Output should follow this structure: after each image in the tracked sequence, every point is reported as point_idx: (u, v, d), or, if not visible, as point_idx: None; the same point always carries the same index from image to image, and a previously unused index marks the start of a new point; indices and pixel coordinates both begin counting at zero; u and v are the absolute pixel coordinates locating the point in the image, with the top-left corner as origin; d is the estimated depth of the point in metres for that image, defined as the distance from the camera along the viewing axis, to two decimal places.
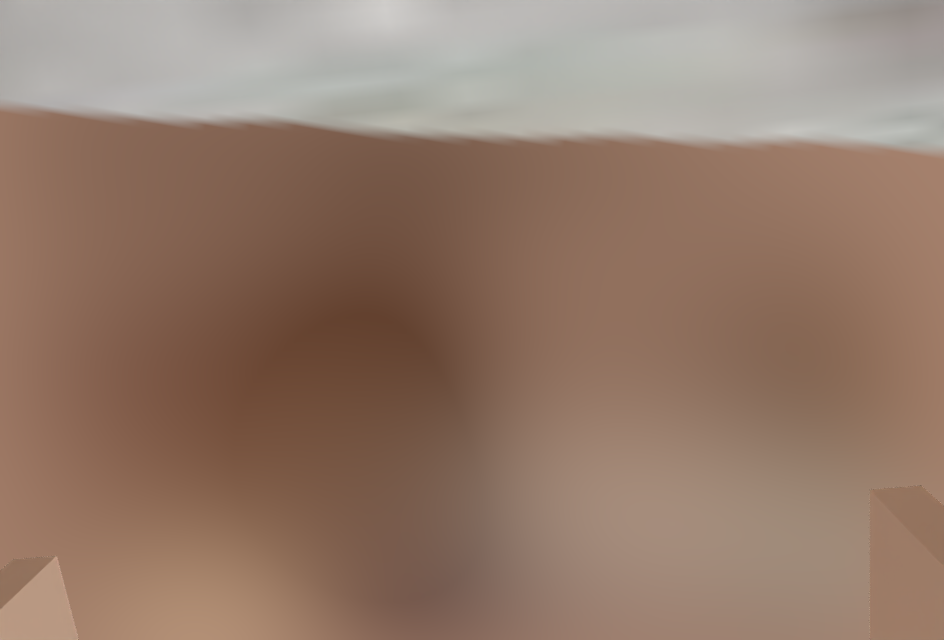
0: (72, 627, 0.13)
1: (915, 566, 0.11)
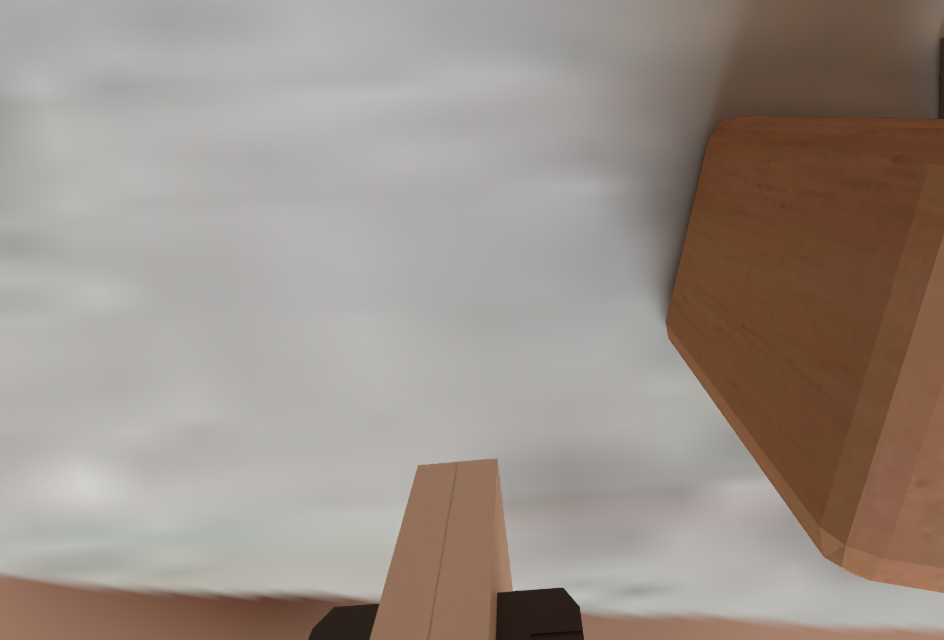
0: None
1: None
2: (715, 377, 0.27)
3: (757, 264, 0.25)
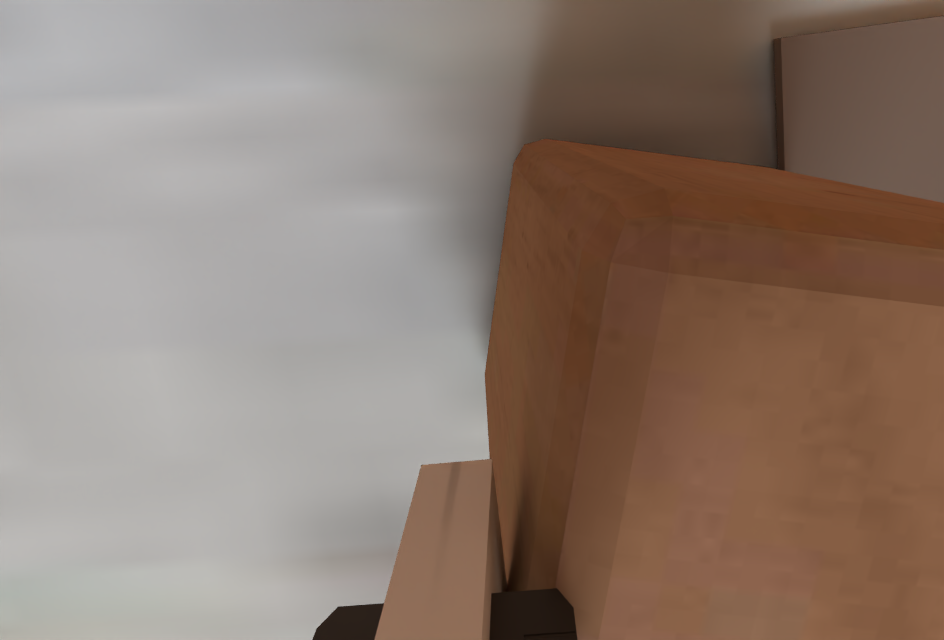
0: None
1: None
2: None
3: (514, 333, 0.20)
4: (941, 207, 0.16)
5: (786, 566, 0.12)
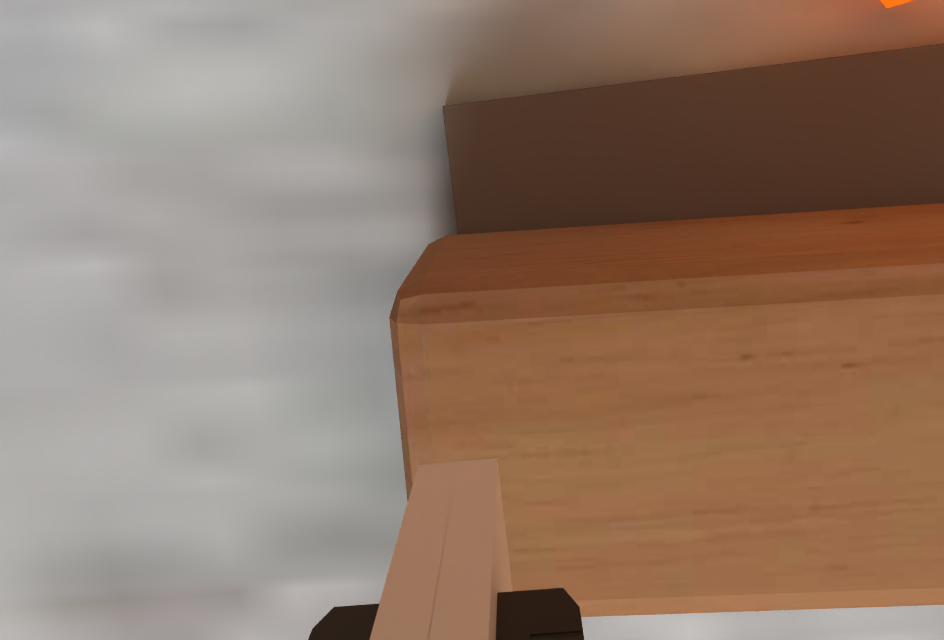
0: None
1: None
2: (759, 585, 0.22)
3: (814, 438, 0.21)
4: (849, 214, 0.27)
5: None
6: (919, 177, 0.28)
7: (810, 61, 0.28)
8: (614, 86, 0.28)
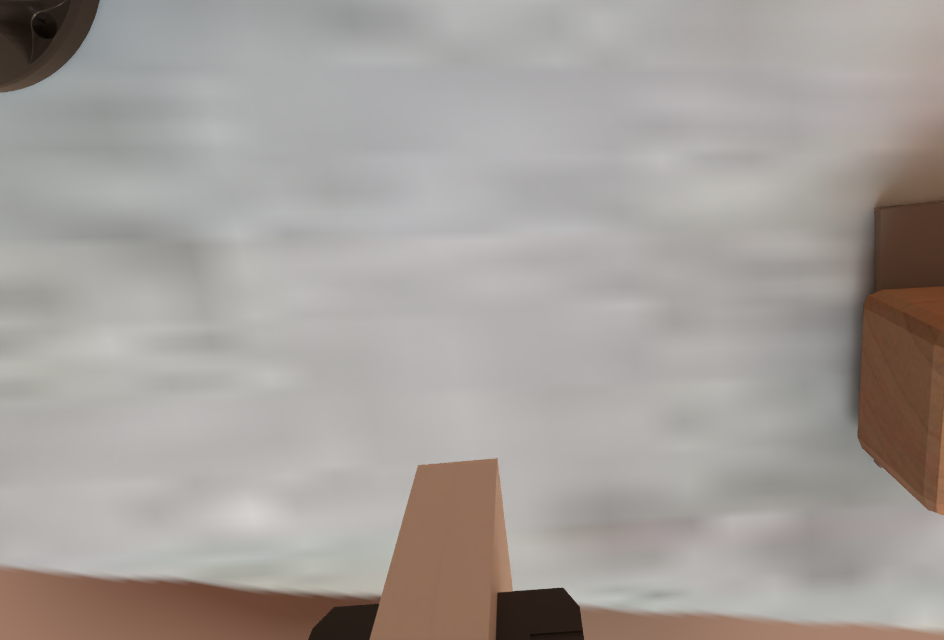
0: None
1: None
2: None
3: None
4: None
5: None
6: None
7: None
8: None
